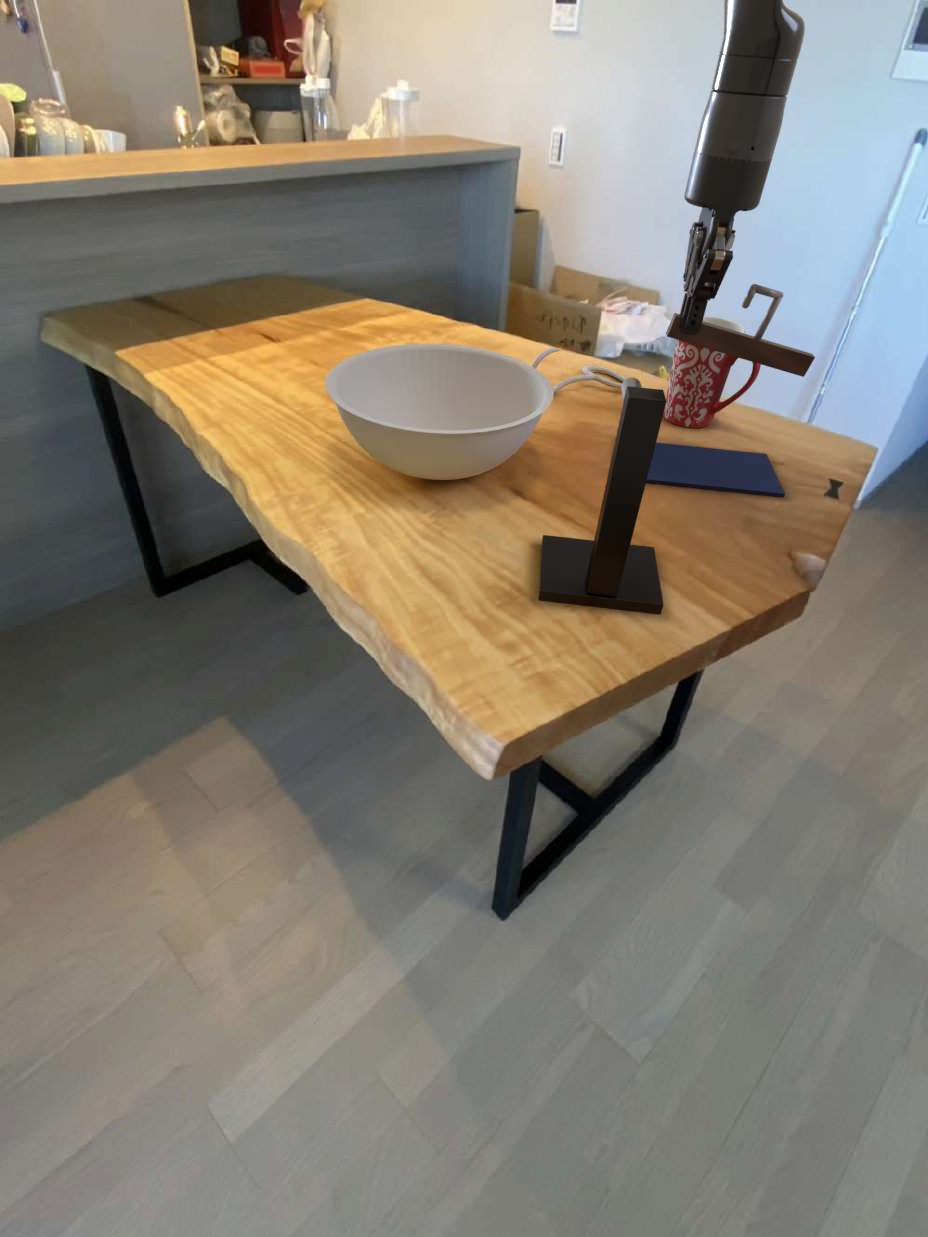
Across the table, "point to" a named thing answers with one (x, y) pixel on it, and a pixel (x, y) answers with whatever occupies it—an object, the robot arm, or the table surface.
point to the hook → (586, 371)
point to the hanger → (748, 339)
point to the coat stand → (613, 523)
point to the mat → (714, 469)
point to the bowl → (438, 407)
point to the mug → (701, 381)
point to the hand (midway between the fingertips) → (687, 330)
